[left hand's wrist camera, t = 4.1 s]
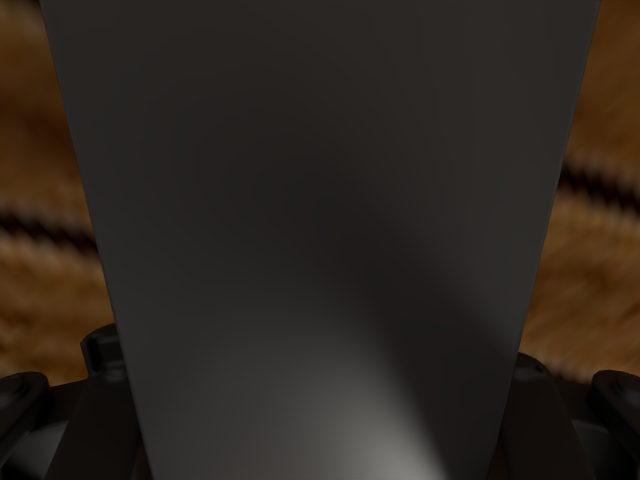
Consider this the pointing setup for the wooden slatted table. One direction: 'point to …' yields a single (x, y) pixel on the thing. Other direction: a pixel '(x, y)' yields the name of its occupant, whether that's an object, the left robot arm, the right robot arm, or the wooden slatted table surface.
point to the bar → (320, 219)
